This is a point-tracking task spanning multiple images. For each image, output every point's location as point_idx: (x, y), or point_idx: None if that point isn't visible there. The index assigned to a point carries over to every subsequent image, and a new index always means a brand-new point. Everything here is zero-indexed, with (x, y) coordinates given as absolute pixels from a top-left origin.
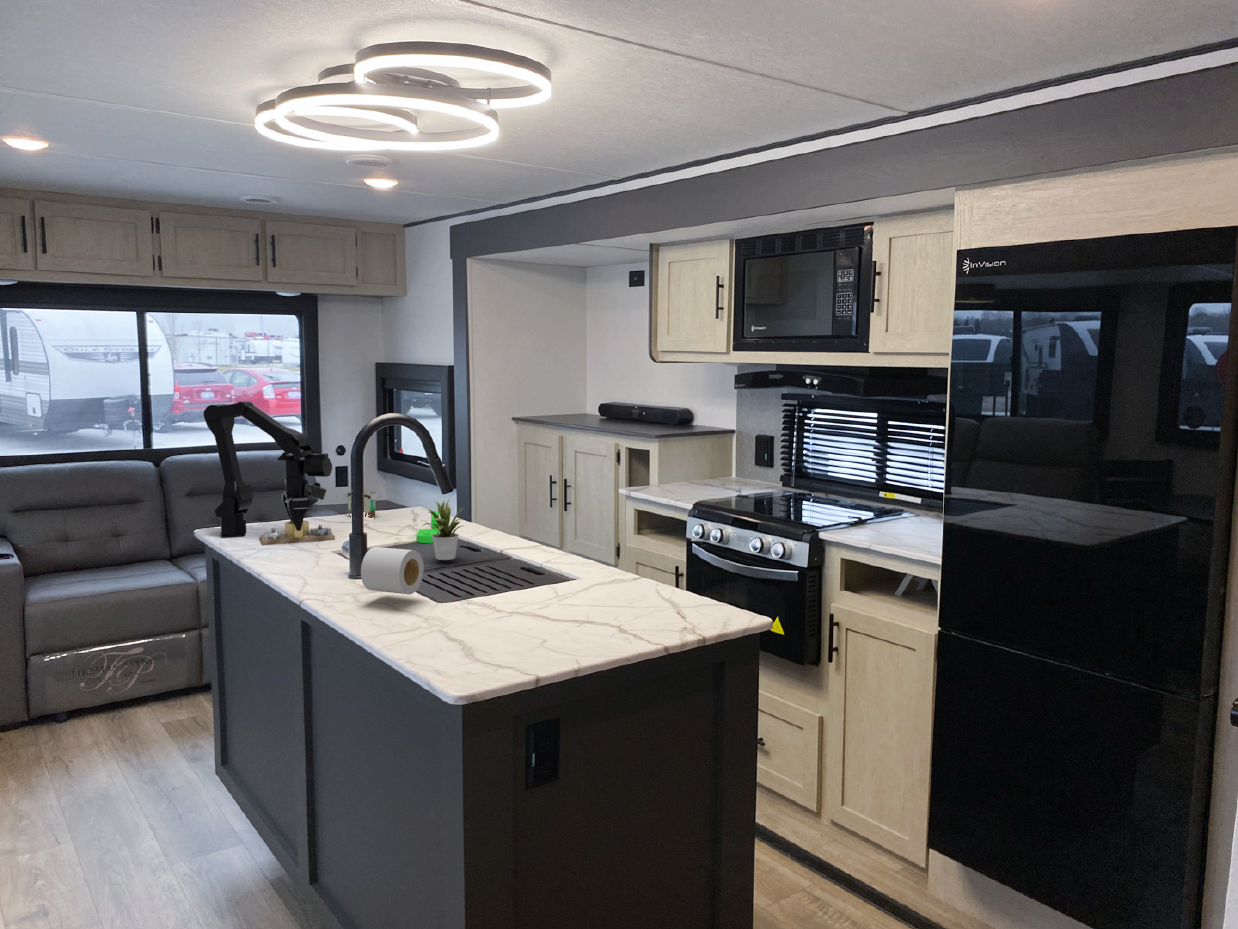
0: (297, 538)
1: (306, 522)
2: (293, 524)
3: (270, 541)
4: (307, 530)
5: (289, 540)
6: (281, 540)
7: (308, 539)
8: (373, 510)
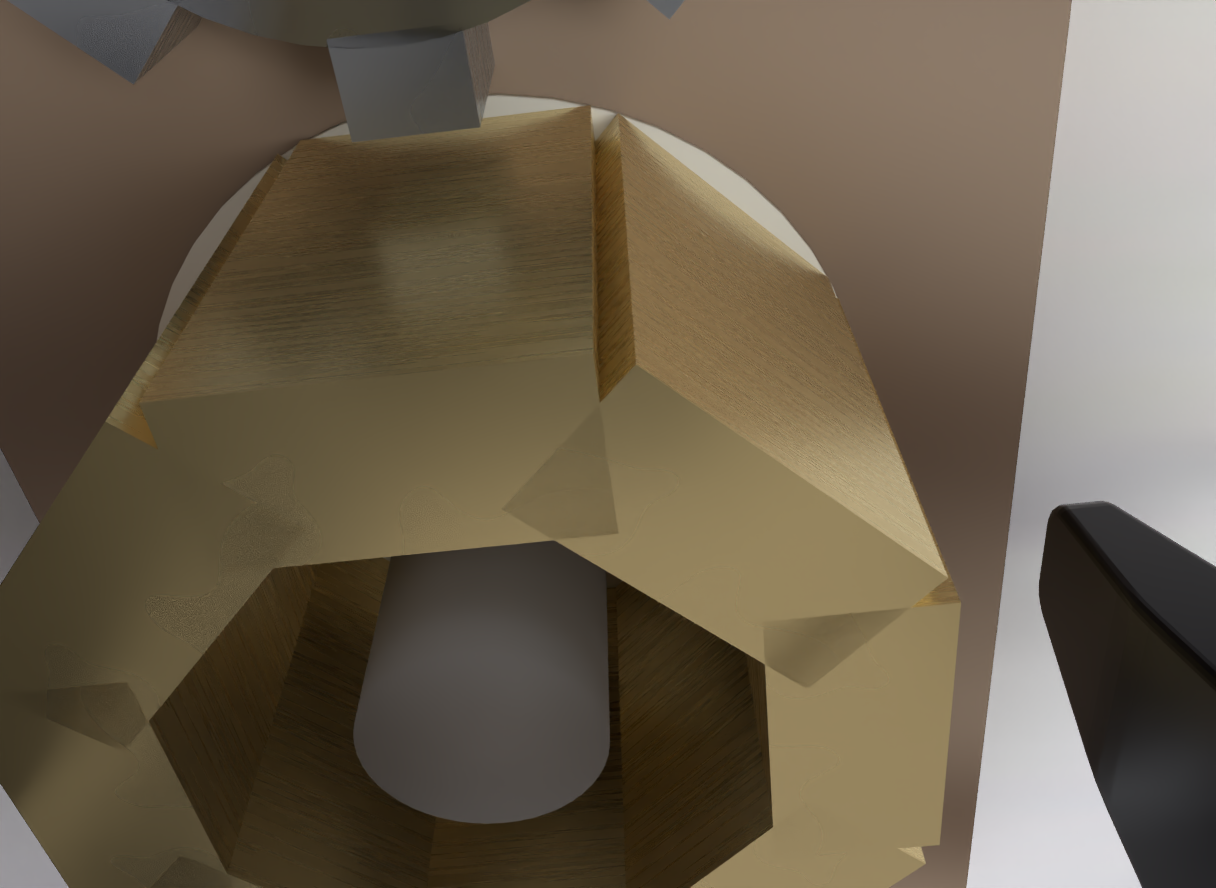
0: (958, 431)
1: (698, 458)
2: (903, 842)
3: (963, 862)
4: (690, 239)
5: (990, 577)
6: (982, 720)
7: (1040, 114)
8: None
